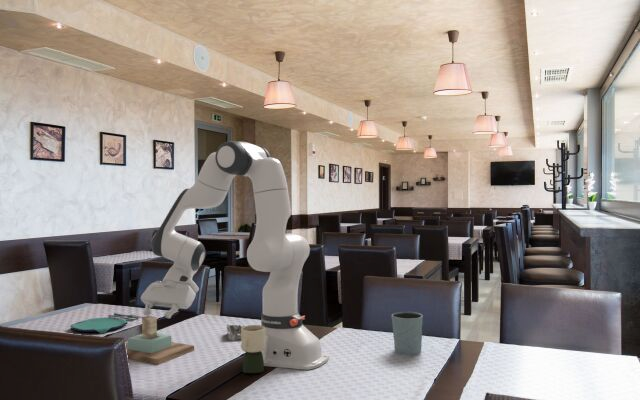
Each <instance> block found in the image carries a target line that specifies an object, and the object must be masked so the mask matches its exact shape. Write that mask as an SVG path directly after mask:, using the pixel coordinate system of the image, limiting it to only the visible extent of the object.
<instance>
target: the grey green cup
mask: <svg viewBox="0 0 640 400" xmlns="http://www.w3.org/2000/svg"><path fill="white" fill-rule="evenodd" d="M423 317H424V315H423V314H422V313H420V312H415V311H399V312H398V311H397V312H394V313H392V314H391V322H392V323H391V324H392V333H393V341H394V343H393V345H394V352H395V353H396V354H398V355H402V356H415V355H420V354H421V353H422V339H423V330H422V328H423Z"/></svg>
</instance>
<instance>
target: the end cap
mask: <svg viewBox="0 0 640 400" xmlns="http://www.w3.org/2000/svg"><path fill="white" fill-rule="evenodd" d="M126 342H128V349H130V350H136V351H141V352H147V353H154V352H156V351H159V350H162V349H164V348H167V347H170V346H171V342H172V334H165V333H158V332H157V338H154V339H145V338H142V333H140V334H136V335H134V336H131V337H128V338H127V340H126Z"/></svg>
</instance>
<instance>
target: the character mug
mask: <svg viewBox="0 0 640 400" xmlns="http://www.w3.org/2000/svg"><path fill="white" fill-rule="evenodd" d="M243 326H244V327H242V328H241V333H240V334H241V339H240V340H241V344H240V348H241V349H242V351H243V352H244V356H243V361H242V362H243V363H242V372H243V373H247V374H251V375H252V374H258V373H263V372H264V371H265V366H264V361H263V355H262V352H261V351H263V350H264V349H265V327H264V326H262V325H261V324H250V325H243Z"/></svg>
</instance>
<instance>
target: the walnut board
mask: <svg viewBox="0 0 640 400" xmlns="http://www.w3.org/2000/svg"><path fill="white" fill-rule="evenodd" d="M124 343H125V344H126V349H127V355H128V358H127V359H130V360H133V361H134V360H135V361H139V362H145V363H148V364H149V363H150V364H155V365H161V364H163V363H166V362H168V361H171V360H173V359H176V358H179V357H181V356H183V355H186V354H188V353H190V352H193V351H195V345H191V344H186V343H180V342H173V341H171V346H170V347H167V348H164V349H162V350H159V351H156V352H154V353H147V352H141V351H136V350H130V349H128V341H124Z"/></svg>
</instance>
